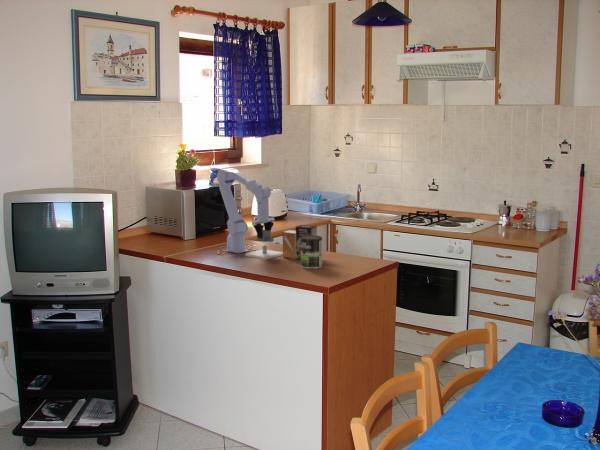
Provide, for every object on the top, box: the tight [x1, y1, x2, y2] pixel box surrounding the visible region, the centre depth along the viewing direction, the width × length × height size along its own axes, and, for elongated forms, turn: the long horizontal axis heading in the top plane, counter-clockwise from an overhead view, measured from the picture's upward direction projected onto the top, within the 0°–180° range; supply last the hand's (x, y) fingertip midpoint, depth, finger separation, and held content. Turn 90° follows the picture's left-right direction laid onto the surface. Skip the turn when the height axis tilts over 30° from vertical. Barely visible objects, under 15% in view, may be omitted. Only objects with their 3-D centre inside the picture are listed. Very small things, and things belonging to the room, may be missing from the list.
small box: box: [282, 229, 297, 260], centre depth 347 cm, size 8×6×13 cm
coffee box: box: [295, 224, 318, 259], centre depth 343 cm, size 9×6×16 cm
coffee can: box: [300, 235, 323, 270], centre depth 326 cm, size 10×10×14 cm
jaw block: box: [256, 229, 275, 243], centre depth 350 cm, size 8×5×5 cm, turn 50°
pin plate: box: [244, 245, 283, 260], centre depth 352 cm, size 14×14×5 cm
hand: (263, 237), depth 351 cm, fingers closed on jaw block, 5 cm apart
